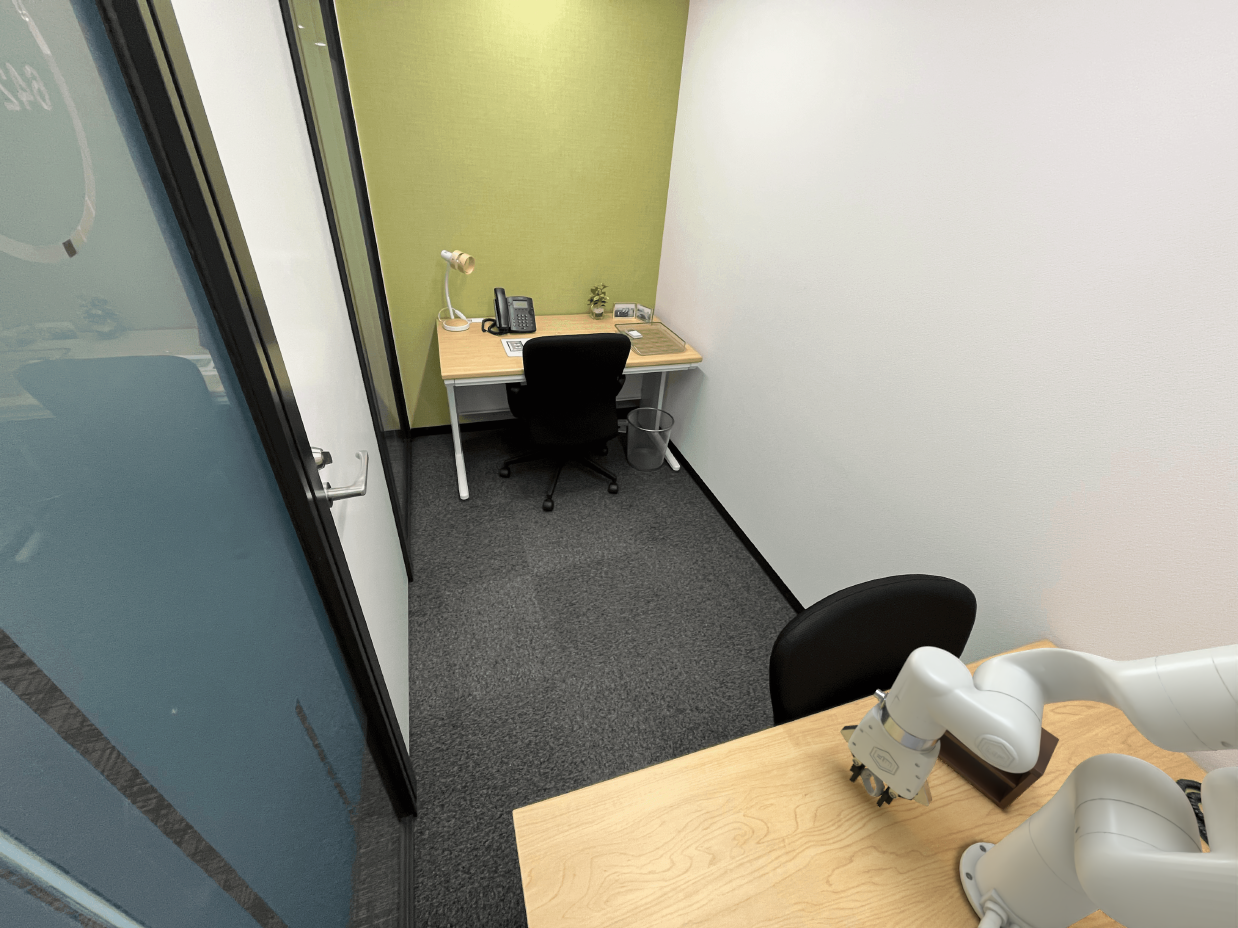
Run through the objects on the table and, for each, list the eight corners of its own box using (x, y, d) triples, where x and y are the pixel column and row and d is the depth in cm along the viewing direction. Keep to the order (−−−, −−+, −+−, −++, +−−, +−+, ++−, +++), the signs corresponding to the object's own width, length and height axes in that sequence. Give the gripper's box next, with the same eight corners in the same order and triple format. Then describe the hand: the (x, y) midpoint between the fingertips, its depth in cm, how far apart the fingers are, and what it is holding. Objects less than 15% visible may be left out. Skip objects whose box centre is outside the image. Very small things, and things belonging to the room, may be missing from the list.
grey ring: (881, 800, 78) (890, 787, 76) (869, 802, 77) (877, 788, 75) (868, 776, 81) (876, 763, 79) (856, 778, 80) (864, 764, 78)
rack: (1003, 810, 79) (1043, 774, 73) (915, 738, 88) (944, 701, 82) (1020, 774, 85) (1059, 739, 78) (936, 710, 93) (965, 673, 87)
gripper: (841, 692, 73) (810, 759, 82) (963, 789, 62) (910, 853, 71) (866, 666, 77) (833, 733, 87) (984, 752, 66) (932, 818, 76)
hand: (869, 787), depth 79 cm, fingers closed on grey ring, 3 cm apart
